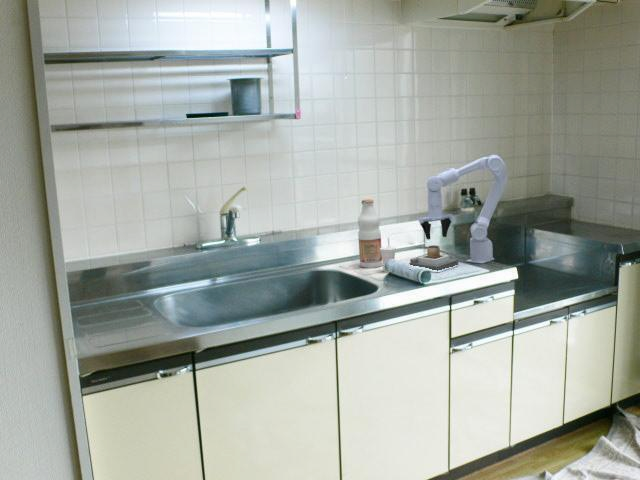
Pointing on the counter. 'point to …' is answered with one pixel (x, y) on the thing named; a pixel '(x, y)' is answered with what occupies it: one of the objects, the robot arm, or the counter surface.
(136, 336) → the counter surface
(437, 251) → the brown short cylinder
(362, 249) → the fruit juice
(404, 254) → the counter surface
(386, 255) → the smoothie
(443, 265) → the grey square box
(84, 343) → the counter surface
